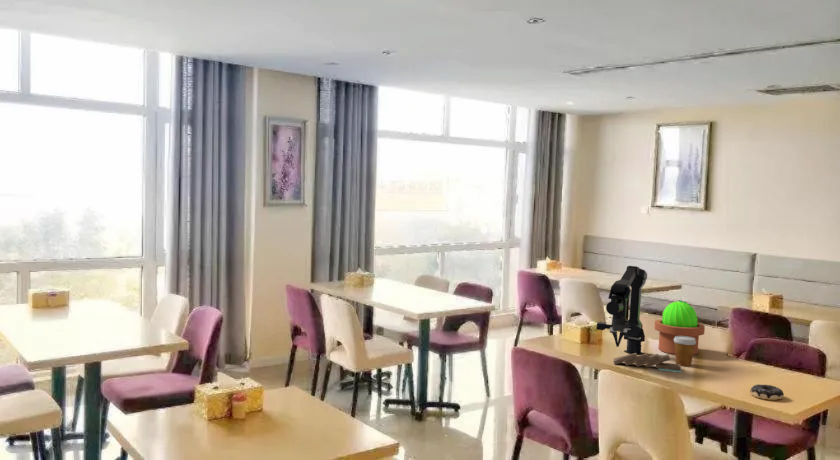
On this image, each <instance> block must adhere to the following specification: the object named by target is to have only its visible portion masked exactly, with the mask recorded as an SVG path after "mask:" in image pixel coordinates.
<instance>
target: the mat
mask: <svg viewBox="0 0 840 460" xmlns="http://www.w3.org/2000/svg"><path fill="white" fill-rule="evenodd" d="M658 371H661V372H672V373H673V372H674V373H682V370H681V371H677V370H668V369H659V368H658Z"/></svg>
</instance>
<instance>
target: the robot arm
mask: <svg viewBox="0 0 840 460" xmlns="http://www.w3.org/2000/svg"><path fill="white" fill-rule="evenodd" d="M647 279H648V272H647V271H646V270H645V269H642V268H640V267H639V266H636V265H627V266H626V270H625V272H624V273H623V275H622V276H621V278H620V279H619V280H618V279H617V280H615V282H613V284H612V285H611V287H610V291H609V294H608V299H609V300H610V301H609V302H608V303H606V305H605V309H606V312H607V313H608V314H609V315H612V319H611V324H608V323H607V321H597V323H596V330H597V331H598V330H599V331H604V330H606V329H608V330H609V333H610V334H612V336H613V338H614V342H615V346H616V347H617V348H619V347H620V344H621V342H622V339H623V340H626V349H624V350H623V352H625V353H628V354H633V353H636V354H637V355H643V354H644V352H643V351H642V343H644V342H645V341H646V340H645V339H646V336H645V335H646V334H645V332H644V329H643V323H642V321H641V319H640V318H641V317H640V314H641V299H642V288H643V287H644V286H645V284H646V283H647V282H646V281H647ZM629 299H630V304H629V316H628V317H629V318H628V320H626V319H627V303H628V300H629ZM618 332H619V336H618Z"/></svg>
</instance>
